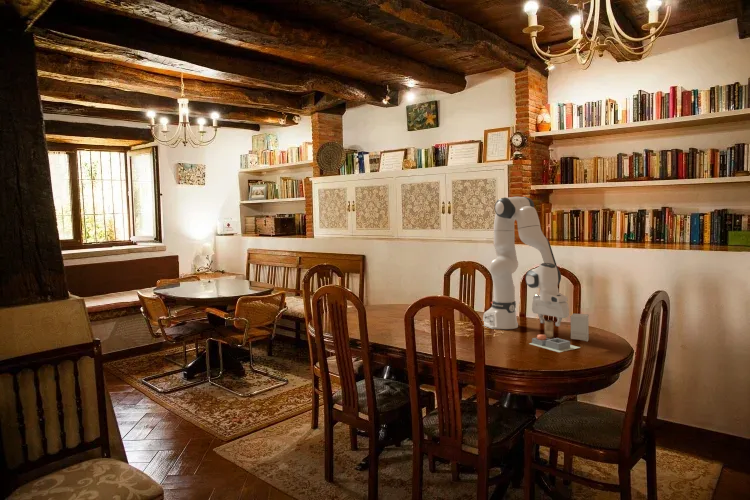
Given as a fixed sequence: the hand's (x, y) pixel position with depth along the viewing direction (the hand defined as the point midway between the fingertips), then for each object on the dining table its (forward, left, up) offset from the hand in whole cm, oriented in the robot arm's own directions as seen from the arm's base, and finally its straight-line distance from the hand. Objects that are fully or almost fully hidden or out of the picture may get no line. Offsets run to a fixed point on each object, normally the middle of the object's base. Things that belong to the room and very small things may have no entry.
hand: (550, 324), depth 256 cm
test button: (+7, -13, -5) cm, 15 cm away
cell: (-1, 0, -8) cm, 8 cm away
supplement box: (+9, +10, -8) cm, 16 cm away
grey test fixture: (+12, -11, -8) cm, 18 cm away
